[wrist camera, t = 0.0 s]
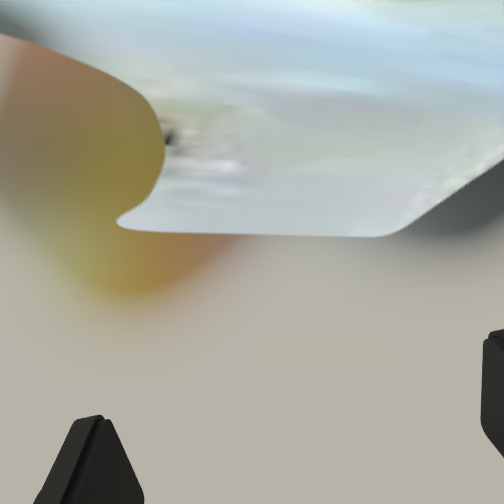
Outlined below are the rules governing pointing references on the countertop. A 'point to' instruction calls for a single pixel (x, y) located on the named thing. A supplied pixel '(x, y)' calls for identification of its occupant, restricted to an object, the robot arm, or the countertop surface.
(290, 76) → the countertop surface
